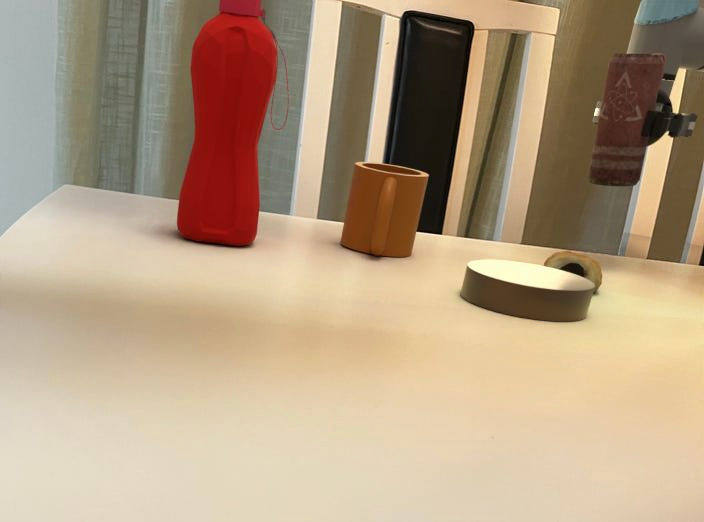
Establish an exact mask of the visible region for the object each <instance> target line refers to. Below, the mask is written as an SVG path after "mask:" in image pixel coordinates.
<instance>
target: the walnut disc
mask: <svg viewBox="0 0 704 522" xmlns="http://www.w3.org/2000/svg"><path fill="white" fill-rule="evenodd" d="M594 289H595V285H594V283H593V282H591V281H589V280H588V279H586V278H583V277H581V276H578V275H576V274H572V273H569V272H566V271H562V270H558V269H554V268H550V267H545V266H544V265H541V264H535V263H529V262H521V261H515V260H506V259H505V260H504V259H476V260H471V261H469V262H468V263H467V264H466V268H465V273H464V276H463V280H462V285H461V290H460V296H461V297H462V298H463V300H465V301H466V302H469V303H470V304H473V305H475V306H478V307H480V308H482V309H486V310H489V311H492V312H495V313H501V314H504V315H509V316H513V317H517V318H524V319H528V320H536V321H537V320H538V321H545V322H546V321H547V322H560V323H561V322H564V323H565V322H576V321H577V322H578V321H581V320H584V319H585V318H586V317H587V315H588V312H589V308H590V306H591V302H592V300H593V299H592V298H593V295H594V292H595V291H594Z"/></svg>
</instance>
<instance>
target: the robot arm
mask: <svg viewBox="0 0 704 522" xmlns="http://www.w3.org/2000/svg"><path fill="white" fill-rule="evenodd" d="M654 53H663V54H664V55H665V58H666V62H665V68H664V75H663V78H662V81H661V85H660V88H659V90H658V95H657V100H656V105H655V109H654V111H650V110H649V111H648V114H647V118H646V121H645V124H644V128H643V131H642V135H641V136H645V137H648V135H649V138H648V143H647V147H650V146H652V145H654V144H655V143H657V142H658V141H660V140H661V139H662V138H663V137H664V135H666V133H668V134H667V136H668V137H669V138H671V139H675V138H680V137H685V138H688V137H692V135H693V133H694V129H695V125H696V122H697V119H698V116H699V115H697V114H696V113H684V112H683V113H681V112H674V108H673V102H672V100H671V93H672V91H673V87H674V85H675V81H676V78H677V75H678V72H679V70H680V69H681V70H687V71H688V70H689V71H696V72H703V73H704V7H701V6H700V0H641V1H640V3H639V7H638V9H637V13H636V15H635V18H634V20H633V27H632V32H631V35H630V39H629V43H628V47H627V50H626V54H654ZM601 103H602V100H600V101H597V103H596V108H595V111H594V114H593V118H592V123H593V124H596V125H598V119H599V114H600V109H601ZM650 128H651V129H650ZM649 131H650V133H649Z"/></svg>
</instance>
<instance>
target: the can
mask: <svg viewBox="0 0 704 522" xmlns="http://www.w3.org/2000/svg"><path fill="white" fill-rule="evenodd" d="M665 62H666V58H665V55H664V54H663V53H654V54H627V53H613V55H612V57H611V59H610V60H609V62H608V64H607V70H606V76H605V81H604V87H603V88H604V89H603V92H602V99H601V101H602V103H601V109H600V114H599V119H598V124H596V130H595V136H594V142H593V147H592V153H591V157H590V163H589V168H588V175H587V178H588V181H589V183H590V184H592V185H597V186H604V187H605V186H606V187H635V186H636V185H637V184H638V183H639V181H640V180H641V176H642V171H643V166H644V161H645V158H646V157H645V156H646V153H647V147H648V146H647V143H648V138H649V135H648V137H645V136H641V135H642V131H643V128H644V124H645V121H646V118H647V114H648V111H649V110H650V111H654V109H655V105H656V100H657V95H658V90H659V88H660V85H661V81H662V80H663V79H662V78H663V75H664V68H665ZM650 129H651V128H650ZM649 133H650V131H649Z"/></svg>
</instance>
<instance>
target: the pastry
mask: <svg viewBox="0 0 704 522" xmlns="http://www.w3.org/2000/svg"><path fill="white" fill-rule="evenodd" d="M543 266H545V267H550V268H554V269H558V270H562V271H566V272H569V273H572V274H576V275H578V276H581V277H583V278H586V279H588V280H589V281H591V282H593V283H594V285H595V289H594V292H597V291H598V290H599V288H601V285H602V284H603V273H602V270H601V268H600V264H599V262H597V260H596V259H594V258H592V257H591V256H589V255H587V254H585V253H578V252H574V251H570V250H564V251H557V252H553V253H552V254H551V256H549V257H548V258H547V259H546V260H545V261H544V263H543Z"/></svg>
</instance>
